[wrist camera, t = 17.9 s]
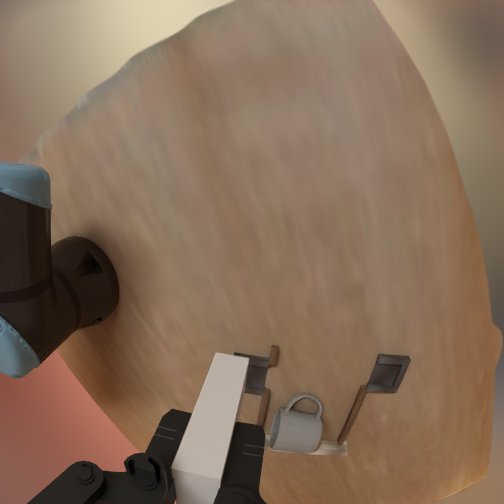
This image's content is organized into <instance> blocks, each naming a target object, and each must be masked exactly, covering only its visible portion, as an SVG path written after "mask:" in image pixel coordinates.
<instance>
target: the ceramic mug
mask: <svg viewBox="0 0 504 504" xmlns="http://www.w3.org/2000/svg"><path fill="white" fill-rule="evenodd" d="M304 397H307V398H310V399H311V400H312V401H315V402H316V403H317V404H318V411H317V414H316V415H314V414H309V413H303V412H299V411H295V410H290V408H291V406H292V405H293V404H294V403H295V402H296V401H298V400H300V399H301V398H304ZM321 412H322V406H321V403H320V401H319V400H318V398H317V397H315V396H314V395H312V394H308V393H301V394H298V395H296V396H294V397H293V398H292V399H291V400H290V402H289V403H288V405H287V406H286V408H279V409H278V410H277V412H276V414H275V416H274V419H273V423H272V427H271V432H270V442H269V445H270V449H271V450H277V451H286V452H299V453H312V452H315V451H317V450H318V449H319V448H320V446H321V443H322V441H323V437H324V432H325V425H324V421H323V419H322V418H321V417H320V416H321Z"/></svg>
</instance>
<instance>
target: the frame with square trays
mask: <svg viewBox="0 0 504 504" xmlns="http://www.w3.org/2000/svg"><path fill="white" fill-rule="evenodd" d="M277 353H278V346H275V345H272V347H271V353H270V358H266V357H259V356H253V355H246V354H240V353H234V356H239V357H245V358H249V363H248V370H247V377H246V384H245V391H244V392H246V393H253V394H259V395H263V396H262V401H261V406H260V412H259V417H258V422H257V425H261V426H263V421H264V417H265V412H266V408H267V403H268V398H269V393H270V389H265V388H264V382H265V377H266V372H267V367H268V365H272V366H275V364H276V358H277ZM410 361H411V360H410V358H409V356H400V355H384V354H378V357H377V361H376V364H375V367H374V369H373V372H372V375H371V377H370V380H369V382H368V383H367V385H361V387H360V389H359V392H358V394H357V397H356V399H355V401H354V404H353V406H352V409H351V411H350V413H349V416H348V418H347V420H346V422H345V425H344V427H343V429H342V431H341V433H340V435H339V438H338V440H337V441H329V440H323V441H322V443H321V446H320V448H319V449H318V450H317V451H315V452H312V453H300V454H314V455H334V456H346V455H347V453H348V448H347V441H345V439H346V437H347V435H348V433H349V431H350V429H351V427H352V425H353V422H354V420H355V418H356V416H357V414H358V411H359V409H360V407H361V405H362V402H363V400H364V398H365V395H366V393H367V392H384V393H396V392H397V390H398V388H399V386H400V384H401V381H402V379H403V377H404V375H405V372H406V370H407V368H408V365H409V363H410ZM265 435H266V434H265ZM269 442H270V435H266V438H265V446H264V450H271V449H270V445H269ZM271 451H277V450H271ZM280 452H286V451H280ZM289 453H299V452H289Z"/></svg>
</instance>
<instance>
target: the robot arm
mask: <svg viewBox="0 0 504 504" xmlns="http://www.w3.org/2000/svg"><path fill="white" fill-rule="evenodd" d="M51 209H52V204H51V195H50V177H49V174H48V173H47V172H46V170H44V169H43V168H41V167H38V166H33V165H26V164H19V163H10V162H9V163H8V162H0V372H1V373H3V374H4V375H7V376H9V377H12V378H22V377H24V376H25V375H27V374H28V373H29V372H30V371H32V370H33V369H34V368H37V367H38V366H39V365H40V364H41V363H42V362H43V361H44V360H45V359H46V358H47V357H48V356H49V355H50V354H51V353H52V352H53V351H54V350H56V349H57V348H58V347H59V346H60V345H61V344H62V343H63V342H64V341H65V340H66V339H67V338H68V337H69V336H70V335H71V334H72V333H74V332H75V331H76V330H79V329H82V328H86V327H89V326H93V325H96V324H99V323H100V322H102V321H103V320H105V319H106V318H107V317H108V316H109V315H110V314H111V313H112V312H113V310H114V309H115V307H116V304H117V301H118V296H119V287H118V280H117V276H116V273H115V270H114V268H113V266H112V264H111V262H110V260H109V259H108V257H107V256H106V254H105V253H104V252H103V251H102V250H101V249H100V248H99V247H98V246H97V245H96V244H94V243H93V242H91V241H90V240H88V239H85V238H82V237H77V236H72V237H67V238H65V239H63V240H60V241H58V242H56V243H55V244H54V245H52V246H51ZM248 363H249V358H245V357H239V356H233V355H227V354H222V353H216V354H215V357H214V359H213V362H212V364H211V367H210V370H209V372H208V375H207V377H206V380H205V382H204V385H203V388H202V390H201V393H200V395H199V398H198V400H197V403H196V406H195V408H194V411H193V413H188V412H184V411H179V410H175V409H171V410H170V411H169V412H167V413H166V414H165V415H164V416H163V417H162V419H161V421H160V423H159V425H158V427H157V429H156V432H155V435H154V436H153V438H152V440H151V442H150V444H149V446H148V448H147V450H146V452H145V453H137V454H133V455H131V456H129V457H128V458H127V459H126V460H125V461H124V465H125V468H126V472H110V471H102V470H101V469H100V468H99V467H98V466H97V465H96V464H94V463H92V462H87V461H80V462H76V463H74V464H72V465H71V466H70V467H68V468H67V469H66V470H65V471H64V472H63V473H62V474H61V475H59V476H58V477H57V478H56V479H55V480H54V481H53V482H51V483H50V484H49V485H48V486H47V487H46V488H45V489H43V490H42V491H41V492H40V493H39V494H38V495H37V496H35V497H34V498H33V499H32V500H31V501H30V502H28V503H27V504H174V502H175V500H176V503H177V504H267V503H266V502H264V501H263V499H262V498H261V496H260V493H259V484H260V476H261V469H262V461H263V454H264V446H265V438H266V435H265V433H264V430H263V428H262V426H261V425H254V424H247V423H241V422H239V417H240V413H241V408H242V404H243V398H244V391H245V384H246V377H247V370H248Z"/></svg>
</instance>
